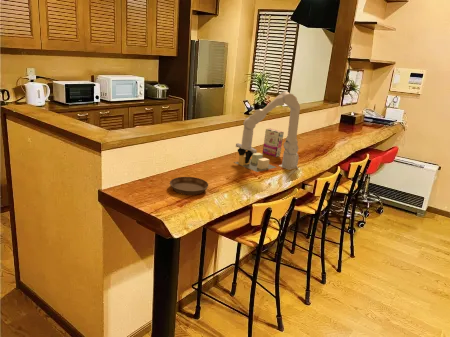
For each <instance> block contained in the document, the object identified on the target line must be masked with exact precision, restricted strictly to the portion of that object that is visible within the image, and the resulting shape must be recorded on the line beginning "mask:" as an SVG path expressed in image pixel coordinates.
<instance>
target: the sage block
mask: <svg viewBox="0 0 450 337" xmlns="http://www.w3.org/2000/svg"><path fill="white" fill-rule="evenodd" d="M262 158H264V153H260V152H257V153H253V155H252V156H251V158H250V159H251V162H253V163H255V164H256V163H258V159H262Z"/></svg>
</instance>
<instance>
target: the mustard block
mask: <svg viewBox="0 0 450 337" xmlns="http://www.w3.org/2000/svg"><path fill="white" fill-rule="evenodd" d="M238 155H239V154H238ZM245 158H246V156H245V155H239V156H238V161H237V162H238V164H240V165H239V166H241V165H248V164H250V160H249V163H245ZM238 164H237V165H238Z"/></svg>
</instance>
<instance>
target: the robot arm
mask: <svg viewBox="0 0 450 337" xmlns="http://www.w3.org/2000/svg"><path fill="white" fill-rule="evenodd" d="M285 105H286V106H287V107H288V108H289V109H290V110H289V111H290V113H289V118H288V119H289V120H288V128H287V130H288V131H287V136H286V138H285V141H284V143H283V148H284V150H283V154H282V162H281V164H279V165H278V167H280V168H282V169H286V170H293V169H297V168H299V166H298V163H299V154H298V151H299V145H298V139H297V138H298V137H297V136H298V128H299V120H300V112H301V106H300V103H299V101H298V99H297V97H296V96H295V94H293V93H290V92H288V91H283V92H281V93H280V94H278V95H277V96H276V97H275V98H274V99H273V100H271V102H269V103H268V104H267V105H265V107H263V108H259V109H255V111H254V112H253V113H252V114H251V115H249V116H248V117H247V118H245V119H244V120H243V121H242V123H243V124H242V125H243V131H242V138H241V143H235V148H237V152H238V155H245V156H246V158H245V163H249V160H250V159H251V158H252V155H253V154H254V153H258V150H257V149H256V148H254V147H252V142H253V136H254V129H255V128H256V125H258V124H259V123H260V122H262V121H263V120H264V119H265V118H266V117H267V114H268V113H270V112H272V110H274V109H275V108H276V107H278V106H285Z"/></svg>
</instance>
